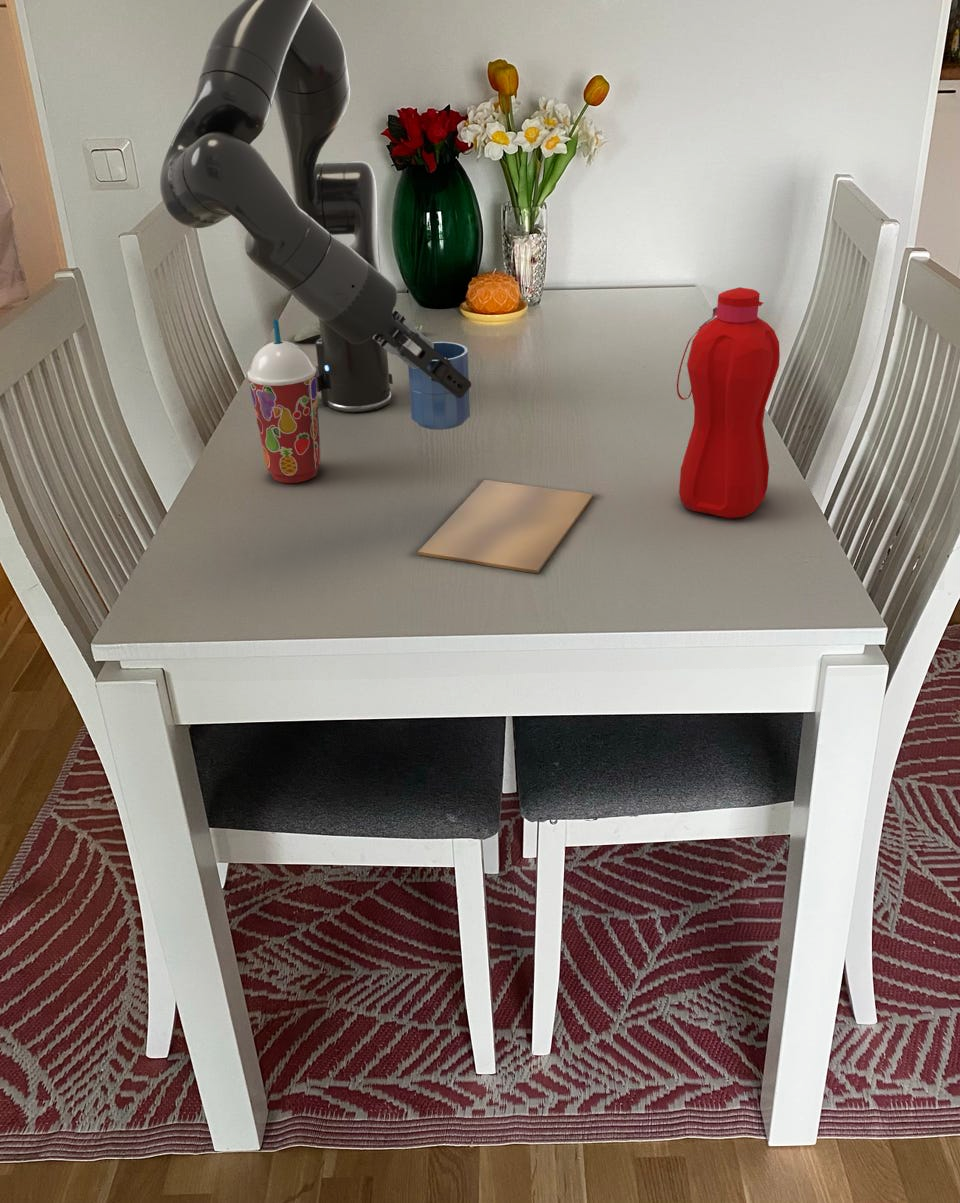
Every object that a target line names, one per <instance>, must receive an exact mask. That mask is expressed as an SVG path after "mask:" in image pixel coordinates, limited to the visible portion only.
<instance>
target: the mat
mask: <svg viewBox="0 0 960 1203" xmlns="http://www.w3.org/2000/svg"><path fill="white" fill-rule="evenodd" d="M593 498H594V494H593V493H587V492H581V491H572V490H564V489H556V488H550V487H542V486H534V485H527V484H525V485H524V484H519V483H511V482H505V481H498V480H497V481H496V480H489V479H484V480H483V481H482V482H481V483H480V484H479V485H477V487H476V488H475V489H474V490H473V491H472V493H471V494H470V495H469V496H468V497H467V498H466V499H465V500H464V501H463V502H462V503H461V505H460V506H458V508H456V510H455V511H454V512H453V513H452V514H451V515H450V516H449V517H448V519H447V520H446V521H445V522H443V524H442V525H441V526H440V527H439V528H438V529H437V530H436V531H435V533H434V534H433V535H432V536H431V537H430V538H429V539H428V540H427V541H426V542H425V544H423V545H422V547H421V548H420V549H418V551H417V556H424V557H431V558H437V559H443V560H450V561H455V562H463V563H467V564H474V565H479V566H487V567H493V568H499V569H505V570H511V571H519V572H524V573H531V574H539V573H540V572H541V571H542V569H543V568H544V566H545V565H546V564H547V562H548V561H549V559H550V558H551V556H552V555H553V554H554V553H555V551H556V550H557V549H558V547H559V545H560V544H561V543H562V542H563V540H564V539H565V537H566V535H567V534H568V533H569V532H570V530H571V529H572V527H573V526H574V524H575V523H576V522H577V520H578V519H579V518H580V516H581V515H582V513H583V512H584V511H585V509H586V508H587V506H588V505H589V504H590V503H591V501H592V500H593Z"/></svg>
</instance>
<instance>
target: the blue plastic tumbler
mask: <svg viewBox="0 0 960 1203" xmlns="http://www.w3.org/2000/svg"><path fill="white" fill-rule="evenodd" d="M431 342H432V343H433V344H434V350H435V351H437V352H438V353H439V354H440V355H441V356H443V357H445V358H447V359H448V360H450V363H451V364H452V367H454V368H455V369H456V370H457V371H458V372H460V373H461V374H462V375H463V376H464V377H466V378H467V379H468V380H469V381H470V377H469V376H470V375H469V374H470V373H469V349H468V347H467V346H465V345H463V344H460V343H457V342H450V341H431ZM419 347H420V346H419ZM414 355H415V354H414ZM438 360H439V359H437V358H436V357H435V358H433V360H432V361H431V362H430V363H429V365H428V366H427V369H428V370H429V371H430V370H431V368H432V367H433V366H434V365H435V363H436V362H437V361H438ZM407 370H408V385H409V401H410V403H409V404H410V417H411V418H410V419H411V420H412V421H413V422H414V423H416V424H417V425H418V426H419V427H421V428H424V429H428V430H434V431H435V430H437V431H438V430H439V431H440V430H441V431H443V430H450V429H454V428H458V427H460V426H462V425H463V424H464V423H466V421H467V420H468V419H469V418H471V405H470V403H471V402H470V388H469V389H468V391H467V392H466V393H465V395H464V396H463V397H462V398H457V397H456V396H455V395H454V394H452V393H451V392H450V391H449V390H447V389H446V388H445V387H444V386H443V385H441V384H440V383H439V382H438V383H437V382H436V381H435V382H434V381H432V380H431V379H430V378H429V377H430V376H429V375H427V374H426V373H425V372H424V371H422V370H421V369H420V368H417V369H413V368H411V367H410V366H409V365H408V364H407Z"/></svg>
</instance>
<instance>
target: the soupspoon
mask: <svg viewBox="0 0 960 1203" xmlns="http://www.w3.org/2000/svg"><path fill="white" fill-rule="evenodd" d="M415 328H416V329H417V330H418V331H419V332H420V333H422V332H423V325H420V327H419V326H415ZM422 334H423V333H422ZM316 336H321V334H320V324H319V321H314V322H311V323H308V324H306V325H305V326H303V327H302V328H301V329H299V331H298V332H297V333H296V334H295V335H294V338H293V341H294V342H302V341H304V340H308V339H310V338H312V337H313V338H314V337H316Z"/></svg>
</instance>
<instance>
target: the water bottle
mask: <svg viewBox="0 0 960 1203" xmlns="http://www.w3.org/2000/svg"><path fill="white" fill-rule="evenodd" d="M760 296H761V295H760V292H758V290H756V289H753V288H746V287H740V286H739V287H735V288H732V289H728V290H724V291H722V292H720V293H719V294H718V295H717V305H716V306H715V307H714V308H712V314H711V318H709V319H708V320H706V321H704V323H703V324H702V325H701V326H699V328H698V330H697V331H696V332H695V333H694V334H693V335H692V336H691V337H690V338H689V340H688V341H687V343H686V346H685V349H684V352H683V354H682V358H681V361H680V365H679V367H678V368H679V369H678V372H677V379H676V393H677V396H678V398H679V399H680V400H682V401H686V400H688V399H689V398H690V397H691V396H692V401H693V405H694V409H693V410H694V411H693V412H694V413H693V426H692V429H691V433H690V436H689V439H688V443H687V446H686V449H685V453H684V456H683V460H682V463H681V467H680V472H679V473H680V474H679V485H678V494H679V498H680V499H679V500H680V502H681V503H682V504H683V506H684V507H686V508H687V509H688V510H689V511H692V512H696V513H697V512H698V513H703V514H707V515H712V516H716V517H722V518H725V519H730V520H731V519H737V518H739V519H740V518H744V517H747V516H749V515H750V514H752V513H753V512H755V511H756V510H757V509H758V507H759V505H761V503H763V502H764V499H765V497H766V494H767V490H768V485H769V473H770V464H769V456H768V451H767V443H766V436H765V430H764V429H765V428H764V419H765V418H764V417H765V411H766V406H767V403H768V400H769V397H770V394H771V392H772V388H773V385H774V383H775V380H776V377H777V373H778V370H779V367H780V357H781V355H780V354H781V353H780V351H781V350H780V341H779V339H778V335H777V334H776V332H775V330H774V328H773V327H772V326H771V325H770V324H769V323H768V322H766V321H765V320H763V319H762V318H760V317H758V315H759V307H761V306H762V305H763V304H764V302H762V301H760ZM690 343H691V346H690V350H689V353H688V357H687V362H686V367H687V373H688V379H689V385H690V392H689V395H688V397H682V395H681V393H680V389H679V382H680V376H681V371H682V366H683V362H684V360H685V356H686V353H687V351H688V347H689V344H690Z"/></svg>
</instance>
